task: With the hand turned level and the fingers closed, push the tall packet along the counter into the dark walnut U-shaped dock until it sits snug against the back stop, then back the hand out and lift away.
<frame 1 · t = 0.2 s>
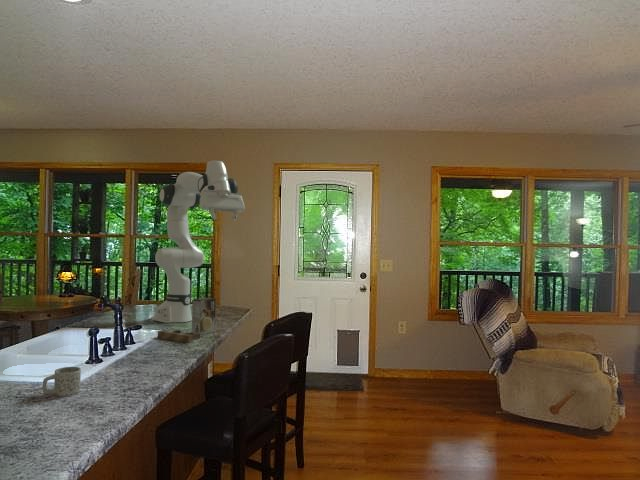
hand: (225, 219, 208), 53 cm above the kitchen counter, tool tilted 25°, fingers open, 8 cm apart
walnut dock: (182, 337, 212), on the kitchen counter
mug: (61, 394, 136), on the kitchen counter
coffee box: (203, 333, 225), on the kitchen counter
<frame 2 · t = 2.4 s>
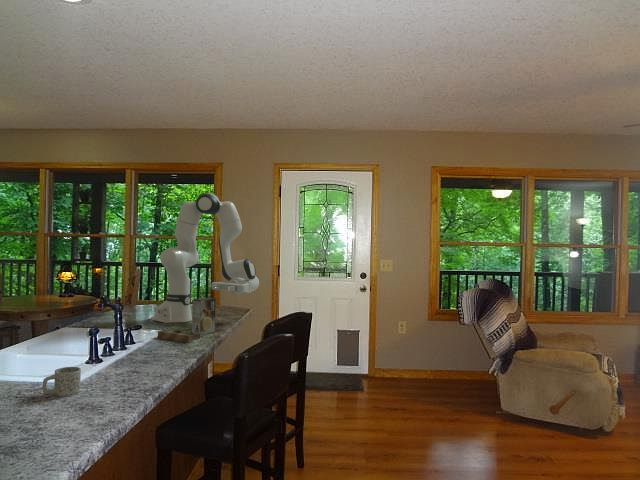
hand: (220, 288, 235), 20 cm above the kitchen counter, tool horizontal, fingers open, 6 cm apart
nothing on the kitchen counter moved.
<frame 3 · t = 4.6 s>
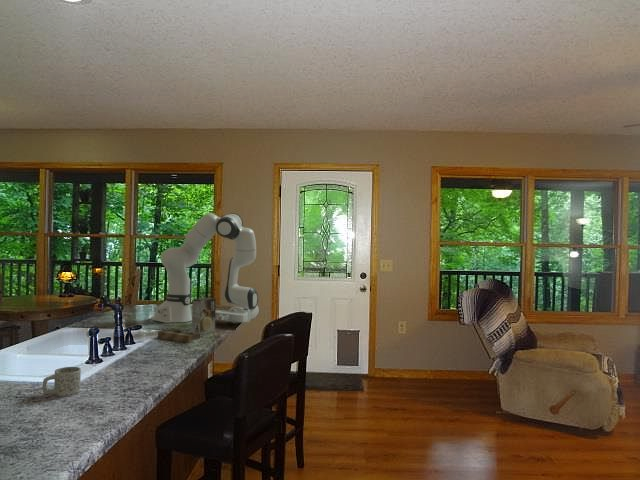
hand: (219, 318, 235), 5 cm above the kitchen counter, tool horizontal, fingers closed
nothing on the kitchen counter moved.
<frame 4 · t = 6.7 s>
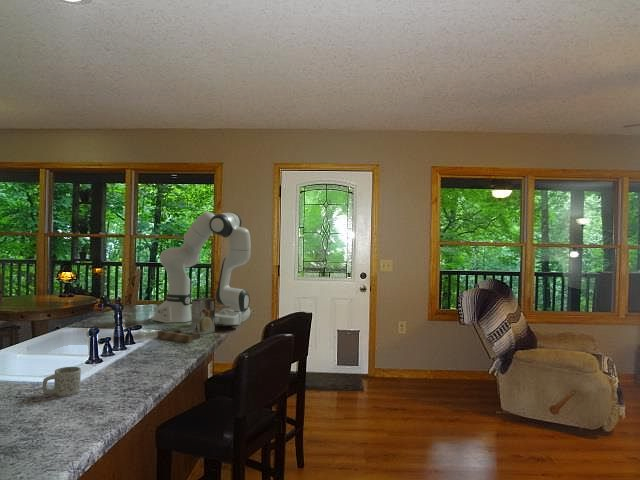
hand: (209, 320, 228), 5 cm above the kitchen counter, tool horizontal, fingers closed
coffee box: (202, 333, 224), on the kitchen counter, touching gripper
everything else where it was.
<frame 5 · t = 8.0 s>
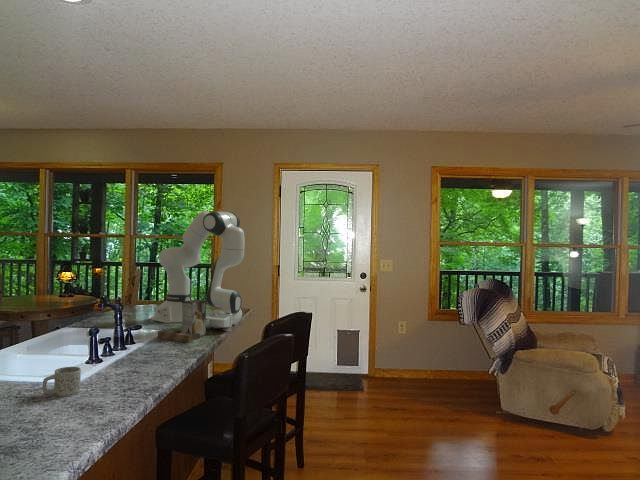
hand: (199, 323, 222), 5 cm above the kitchen counter, tool horizontal, fingers closed, pressing on coffee box
coffee box: (193, 336, 217), on the kitchen counter, touching gripper
everything else where it was.
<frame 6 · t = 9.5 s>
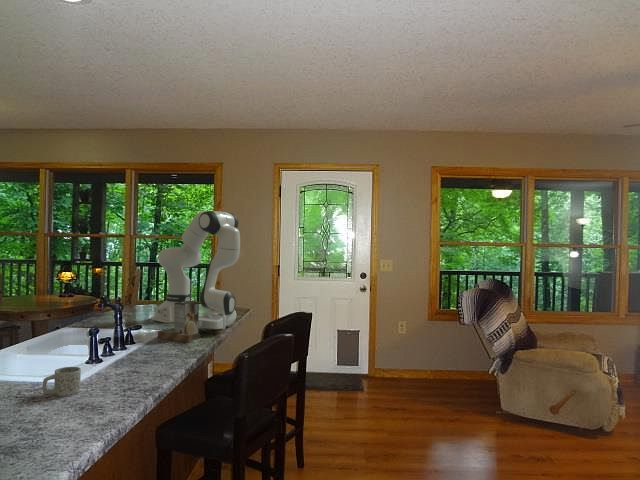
hand: (191, 324, 217), 5 cm above the kitchen counter, tool horizontal, fingers closed
coffee box: (186, 338, 213), on the kitchen counter, touching gripper
everything else where it was.
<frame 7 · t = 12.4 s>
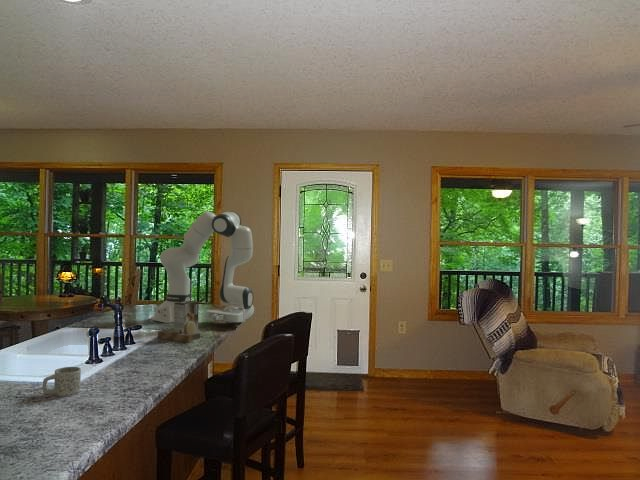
hand: (214, 317, 232), 6 cm above the kitchen counter, tool horizontal, fingers closed
coffee box: (185, 338, 213), on the kitchen counter
everything else where it was.
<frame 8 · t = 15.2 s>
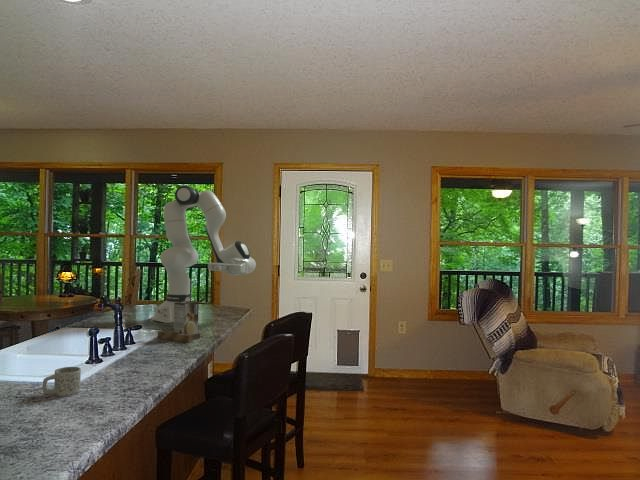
hand: (217, 268, 234), 30 cm above the kitchen counter, tool horizontal, fingers closed
nothing on the kitchen counter moved.
at the end: coffee box 1.2 cm off-centre on the walnut dock, point 0.0 cm above the walnut dock's base; coffee box tilted 0°; coffee box moved 12.9 cm from its start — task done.
